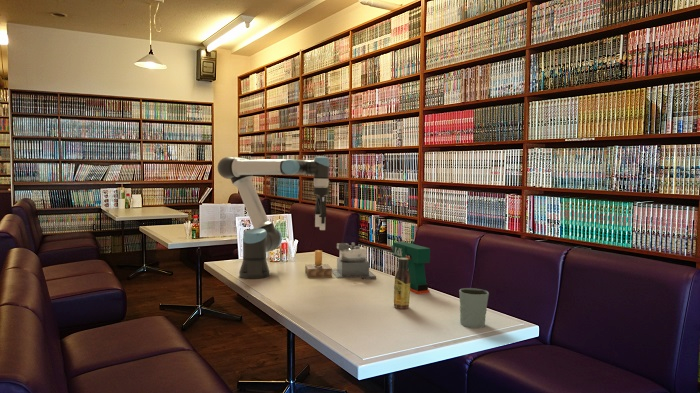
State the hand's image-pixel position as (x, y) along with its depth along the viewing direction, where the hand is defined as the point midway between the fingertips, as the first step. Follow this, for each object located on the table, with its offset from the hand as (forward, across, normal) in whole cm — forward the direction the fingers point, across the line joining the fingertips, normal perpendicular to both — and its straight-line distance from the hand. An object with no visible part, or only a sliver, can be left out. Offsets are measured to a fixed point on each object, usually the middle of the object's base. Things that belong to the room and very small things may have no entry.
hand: (319, 228), depth 247 cm
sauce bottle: (+24, -63, -22) cm, 71 cm away
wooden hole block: (+24, -1, 0) cm, 25 cm away
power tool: (+24, -28, -37) cm, 52 cm away
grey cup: (+24, -88, -41) cm, 100 cm away
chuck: (+16, -2, -17) cm, 23 cm away
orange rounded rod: (+24, -1, 0) cm, 24 cm away
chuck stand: (+24, -2, -18) cm, 30 cm away
